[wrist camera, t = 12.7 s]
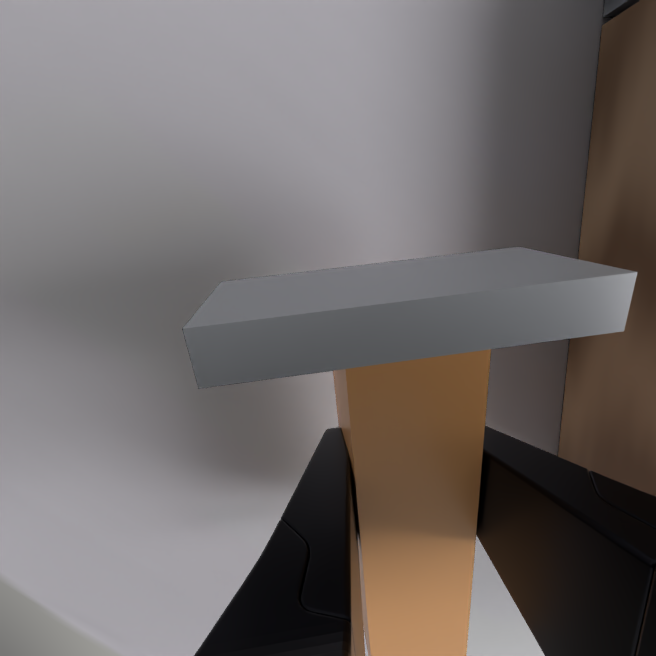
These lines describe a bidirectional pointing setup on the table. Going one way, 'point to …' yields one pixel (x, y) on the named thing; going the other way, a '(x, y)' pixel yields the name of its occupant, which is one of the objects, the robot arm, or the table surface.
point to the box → (617, 6)
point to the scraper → (408, 399)
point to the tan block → (619, 263)
